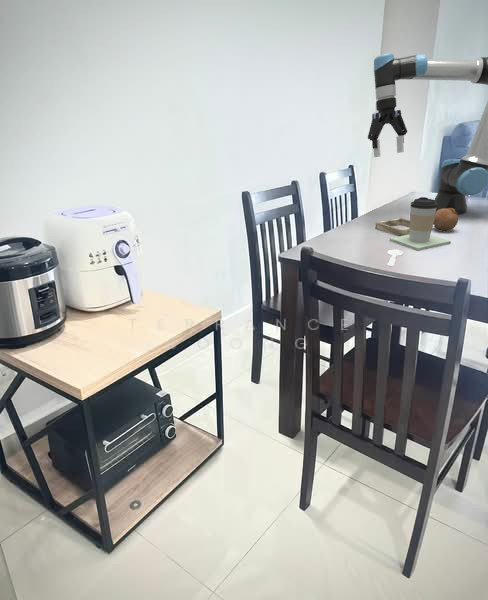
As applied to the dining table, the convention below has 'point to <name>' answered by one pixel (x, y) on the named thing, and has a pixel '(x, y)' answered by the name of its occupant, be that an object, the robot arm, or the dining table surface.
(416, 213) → the coffee cup
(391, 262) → the spoon
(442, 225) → the onion
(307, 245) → the dining table surface
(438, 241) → the mat
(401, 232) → the picture frame
